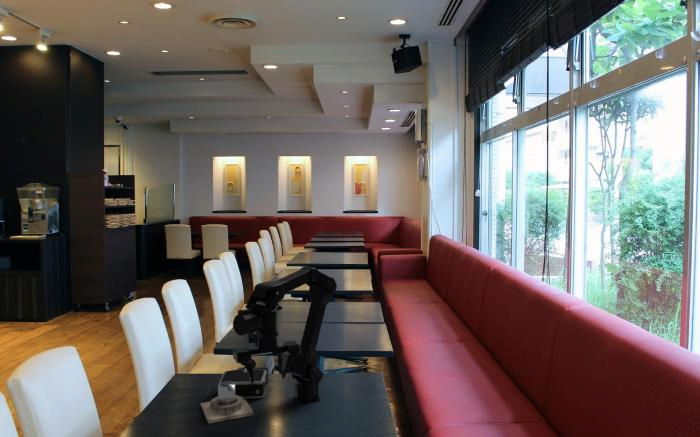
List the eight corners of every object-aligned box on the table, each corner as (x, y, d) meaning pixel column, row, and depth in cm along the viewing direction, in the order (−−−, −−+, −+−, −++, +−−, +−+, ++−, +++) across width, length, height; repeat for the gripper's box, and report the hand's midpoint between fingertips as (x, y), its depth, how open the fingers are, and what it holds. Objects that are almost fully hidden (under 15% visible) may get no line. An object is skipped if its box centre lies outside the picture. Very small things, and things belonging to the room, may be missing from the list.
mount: (242, 399, 168) (242, 389, 168) (253, 415, 157) (253, 405, 156) (200, 406, 163) (200, 396, 163) (208, 423, 151) (208, 413, 151)
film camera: (227, 381, 185) (271, 379, 185) (216, 404, 169) (263, 403, 169) (226, 358, 183) (269, 357, 183) (214, 380, 167) (262, 378, 167)
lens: (237, 409, 159) (237, 385, 158) (220, 411, 156) (220, 388, 156) (233, 402, 163) (233, 379, 163) (216, 405, 161) (216, 382, 160)
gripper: (289, 317, 164) (289, 367, 165) (228, 324, 157) (229, 376, 158) (301, 326, 154) (301, 379, 155) (237, 334, 146) (238, 389, 147)
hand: (267, 380), depth 154 cm, fingers open, 9 cm apart
